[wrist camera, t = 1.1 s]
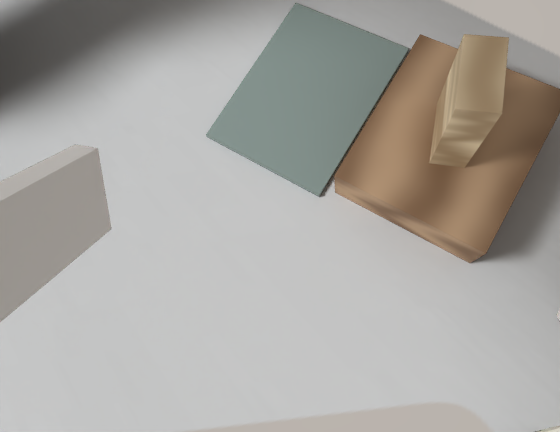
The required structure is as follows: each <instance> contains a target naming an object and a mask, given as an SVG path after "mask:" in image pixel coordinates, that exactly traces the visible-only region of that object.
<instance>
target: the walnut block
mask: <svg viewBox="0 0 560 432" xmlns="http://www.w3.org/2000/svg"><path fill="white" fill-rule="evenodd" d="M457 51H458V49H456V48H454V47H451V46H449V45H446V44H444V43H441V42H439V41H436V40H433V39H431V38H428V37H426V36H423V35H421V34H420V36H419V37H418V39H417V41H416V42H415V44H414V46H413V47H412V49H411V50H410V52H409V54H408V55H407V57H406V59H405V60H404V62H403V64H402V65H401V67H400V69H399V70H398V72H397V73H396V75H395V77H394V78H393V80H392V82H391V83H390V85H389V87H388V88H387V90H386V92H385V93H384V95H383V96H382V98H381V100H380V101H379V103H378V105H377V106H376V108H375V110H374V111H373V113H372V114H371V116H370V118H369V119H368V121H367V123H366V124H365V126H364V128H363V129H362V131H361V133H360V134H359V136H358V137H357V139H356V141H355V142H354V144H353V146H352V147H351V149H350V151H349V152H348V154H347V156H346V157H345V159H344V160H343V162H342V164H341V165H340V167H339V169H338V170H337V172H336V174H335V175H334V179H335V193H337V194H339V195H341V196H343V197H345V198H347V199H349V200H351V201H352V202H354V203H356V204H358V205H360V206H362V207H364V208H366V209H368V210H370V211H371V212H373V213H375V214H377V215H379V216H381V217H383V218H385V219H387V220H389V221H390V222H392V223H394V224H396V225H398V226H400V227H402V228H404V229H406V230H408V231H410V232H411V233H413V234H415V235H417V236H419V237H421V238H423V239H425V240H427V241H429V242H430V243H432V244H434V245H436V246H438V247H440V248H442V249H444V250H446V251H448V252H450V253H451V254H453V255H455V256H457V257H459V258H461V259H463V260H465V261H467V262H469V263H471V262H473V261H475V260H476V259H478V258H480V257H481V256H483V255H484V254H486V253H487V251H488V249H489V247H490V245H491V243H492V241H493V239H494V237H495V235H496V233H497V232H498V230H499V228H500V226H501V224H502V222H503V220H504V218H505V216H506V214H507V212H508V210H509V209H510V207H511V205H512V203H513V201H514V199H515V197H516V195H517V193H518V191H519V189H520V187H521V186H522V184H523V182H524V180H525V178H526V176H527V174H528V172H529V170H530V168H531V166H532V165H533V163H534V161H535V159H536V157H537V155H538V153H539V151H540V149H541V147H542V145H543V143H544V142H545V140H546V138H547V136H548V134H549V132H550V130H551V128H552V126H553V124H554V122H555V121H556V119H557V117H558V115H559V113H560V89H558V88H556V87H553V86H551V85H548V84H545V83H543V82H540V81H538V80H535V79H533V78H530V77H528V76H525V75H523V74H520V73H517V72H515V71H512V70H510V69H507V68H506V75H505V86H504V98H503V109H502V115H501V116H500V117H499V119H498V120H497V122H496V123H495V125H494V126H493V128H492V129H491V130H490V132H489V133H488V135H487V136H486V138H485V139H484V141H483V142H482V143H481V145H480V146H479V148H478V149H477V151H476V152H475V153H474V155H473V156H472V158H471V159H470V161H469V162H468V164H467V165H466V166H465V168H462V167H455V166H447V165H439V164H432V163H429V162H430V154H431V146H432V139H433V131H434V123H435V116H436V108H437V103H438V100H439V97H440V95H441V92H442V90H443V87H444V85H445V82H446V79H447V77H448V74H449V72H450V69H451V67H452V64H453V61H454V59H455V56H456V54H457Z"/></svg>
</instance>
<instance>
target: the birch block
mask: <svg viewBox="0 0 560 432" xmlns="http://www.w3.org/2000/svg"><path fill="white" fill-rule="evenodd" d="M508 41H509V38H507V37H494V36H481V35H467V34H464V36H463V38H462V41H461V43H460V46H459V49H458V51H457V54H456V56H455V59H454V61H453V64H452V67H451V69H450V72H449V74H448V77H447V79H446V82H445V85H444V87H443V90H442V92H441V95H440V97H439V100H438V103H437V108H436V116H435V123H434V131H433V139H432V146H431V154H430V162H429V163H432V164H439V165H447V166H455V167H462V168H465V166H466V165H467V164H468V162H469V161H470V159H471V158H472V156H473V155H474V153H475V152H476V151H477V149H478V148H479V146H480V145H481V143H482V142H483V141H484V139H485V138H486V136H487V135H488V133H489V132H490V130H491V129H492V128H493V126H494V125H495V123H496V122H497V120H498V119H499V117H500V116H501V115H502V109H503V98H504V86H505V75H506V64H507V53H508Z"/></svg>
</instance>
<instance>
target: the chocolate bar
mask: <svg viewBox="0 0 560 432" xmlns="http://www.w3.org/2000/svg"><path fill="white" fill-rule="evenodd" d="M535 432H560V426H556V427H552V428H547V429H543V430H539V431H535Z"/></svg>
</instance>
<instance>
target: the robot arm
mask: <svg viewBox="0 0 560 432" xmlns="http://www.w3.org/2000/svg"><path fill="white" fill-rule="evenodd" d="M110 230H111V223H110V217H109V211H108V205H107V200H106V194H105V188H104V182H103V176H102V170H101V164H100V158H99V152H98V148H94V147H87V146H81V145H73V146H71V147H69V148H67V149H65V150H63V151H61V152H59V153H57V154H55V155H53V156H51V157H49V158H47V159H45V160H43V161H41V162H39V163H37V164H35V165H33V166H31V167H29V168H27V169H25V170H23V171H21V172H19V173H17V174H15V175H13V176H11V177H9V178H7V179H5V180H3V181H1V182H0V322H1V321H2V320H4V319H5V318H6V317H7V316H8V315H10V314H11V313H12V312H13V311H14V310H15V309H17V308H18V307H19V306H20V305H21V304H23V303H24V302H25V301H26V300H27V299H29V298H30V297H31V296H32V295H33V294H35V293H36V292H37V291H38V290H39V289H41V288H42V287H43V286H44V285H45V284H46V283H48V282H49V281H50V280H51V279H52V278H54V277H55V276H56V275H57V274H58V273H60V272H61V271H62V270H63V269H64V268H66V267H67V266H68V265H69V264H70V263H72V262H73V261H74V260H75V259H76V258H77V257H79V256H80V255H81V254H82V253H83V252H85V251H86V250H87V249H88V248H89V247H91V246H92V245H93V244H94V243H95V242H97V241H98V240H99V239H100V238H101V237H103V236H104V235H105V234H106V233H107V232H108V231H110ZM557 317H558V319H559V322H560V309H559V311H558V314H557Z"/></svg>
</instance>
